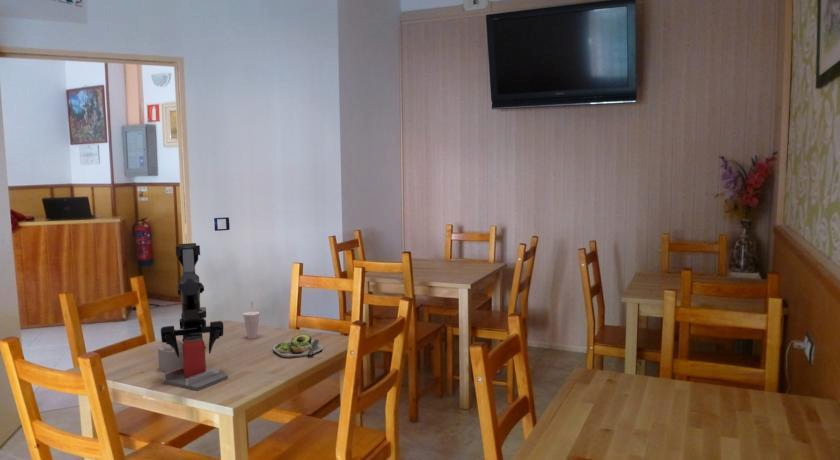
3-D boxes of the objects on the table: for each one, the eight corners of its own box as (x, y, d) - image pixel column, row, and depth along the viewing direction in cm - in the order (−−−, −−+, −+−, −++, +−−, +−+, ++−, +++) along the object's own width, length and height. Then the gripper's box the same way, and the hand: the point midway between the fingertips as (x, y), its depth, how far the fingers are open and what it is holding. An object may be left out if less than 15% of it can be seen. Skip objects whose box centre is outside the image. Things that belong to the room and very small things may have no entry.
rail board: (194, 371, 202) (194, 362, 202) (227, 378, 195) (227, 369, 194) (163, 383, 191) (163, 373, 191) (197, 390, 184) (197, 380, 184)
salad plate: (333, 355, 218) (332, 342, 218) (283, 363, 210) (282, 350, 210) (315, 342, 235) (315, 330, 235) (269, 349, 227) (268, 337, 227)
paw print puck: (182, 360, 214) (181, 336, 213) (205, 367, 207) (203, 342, 206) (154, 368, 206) (153, 343, 205) (177, 376, 198) (175, 349, 197)
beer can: (184, 373, 197) (182, 336, 196) (206, 370, 199) (204, 334, 198) (183, 379, 191) (181, 341, 190) (205, 377, 193) (203, 339, 192)
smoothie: (264, 336, 244) (262, 301, 243) (251, 340, 239) (250, 304, 237) (252, 334, 247) (251, 300, 246) (240, 338, 242) (238, 303, 241)
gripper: (159, 301, 193) (160, 345, 184) (221, 296, 200) (225, 338, 191) (161, 320, 201) (162, 363, 192) (221, 315, 208) (225, 355, 199)
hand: (194, 354), depth 193 cm, fingers open, 9 cm apart
